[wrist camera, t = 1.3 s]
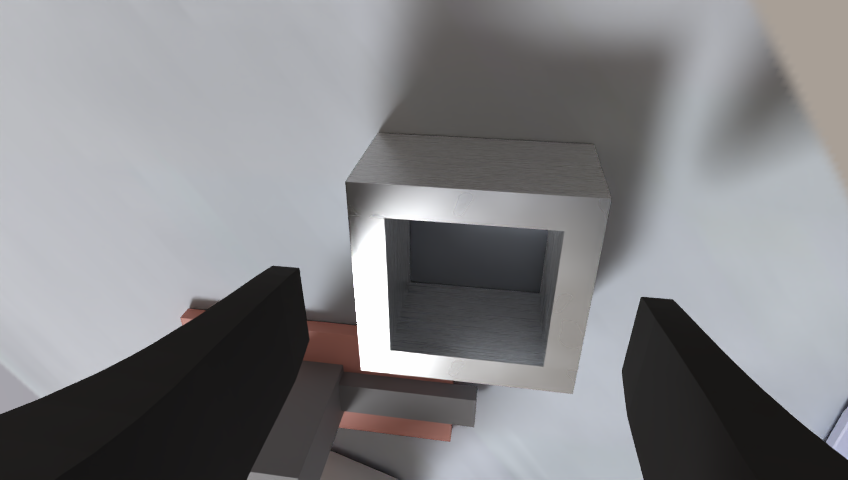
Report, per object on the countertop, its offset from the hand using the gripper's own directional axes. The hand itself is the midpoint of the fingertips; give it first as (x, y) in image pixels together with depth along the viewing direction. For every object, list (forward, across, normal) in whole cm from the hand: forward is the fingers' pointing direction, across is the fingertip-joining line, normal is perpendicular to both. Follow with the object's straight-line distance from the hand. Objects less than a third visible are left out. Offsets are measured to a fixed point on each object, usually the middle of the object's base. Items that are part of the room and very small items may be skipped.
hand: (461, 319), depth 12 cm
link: (+4, 0, 0) cm, 4 cm away
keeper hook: (+4, +5, +6) cm, 9 cm away
